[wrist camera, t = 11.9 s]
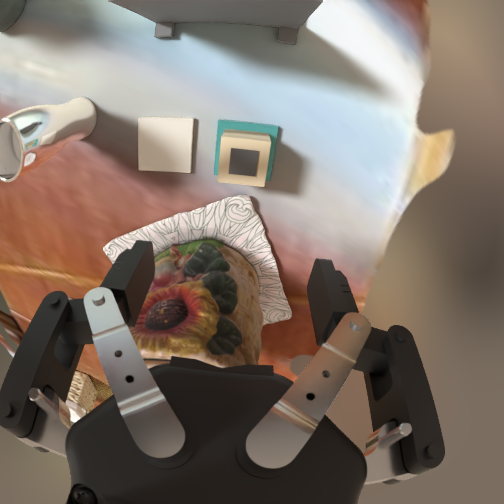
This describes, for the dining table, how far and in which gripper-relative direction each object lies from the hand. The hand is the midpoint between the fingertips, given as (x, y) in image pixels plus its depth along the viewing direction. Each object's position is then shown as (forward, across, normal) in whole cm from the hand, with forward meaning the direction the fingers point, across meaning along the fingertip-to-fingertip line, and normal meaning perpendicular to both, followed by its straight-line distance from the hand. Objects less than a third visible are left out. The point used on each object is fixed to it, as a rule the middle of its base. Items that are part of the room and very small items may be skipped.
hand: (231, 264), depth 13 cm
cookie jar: (+23, +5, +21) cm, 32 cm away
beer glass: (+23, +23, -4) cm, 33 cm away
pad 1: (+23, +10, 0) cm, 25 cm away
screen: (+23, +4, -16) cm, 28 cm away
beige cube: (+22, 0, 0) cm, 22 cm away
